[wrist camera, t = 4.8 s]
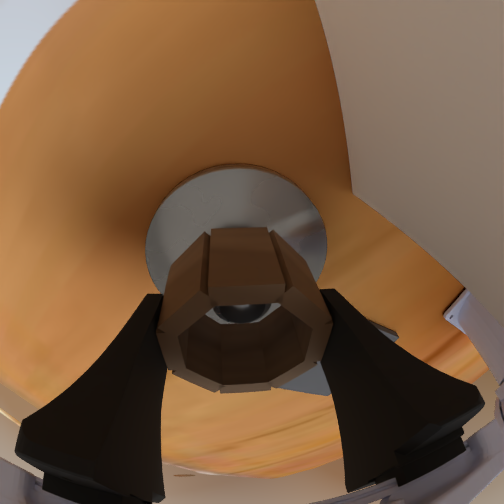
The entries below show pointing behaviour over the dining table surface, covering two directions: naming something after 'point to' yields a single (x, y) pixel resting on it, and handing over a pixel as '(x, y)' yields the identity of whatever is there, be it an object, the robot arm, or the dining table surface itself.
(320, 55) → the dining table surface
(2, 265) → the dining table surface
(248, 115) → the dining table surface
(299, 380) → the mat
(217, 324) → the ring
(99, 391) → the robot arm
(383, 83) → the milk
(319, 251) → the hub
